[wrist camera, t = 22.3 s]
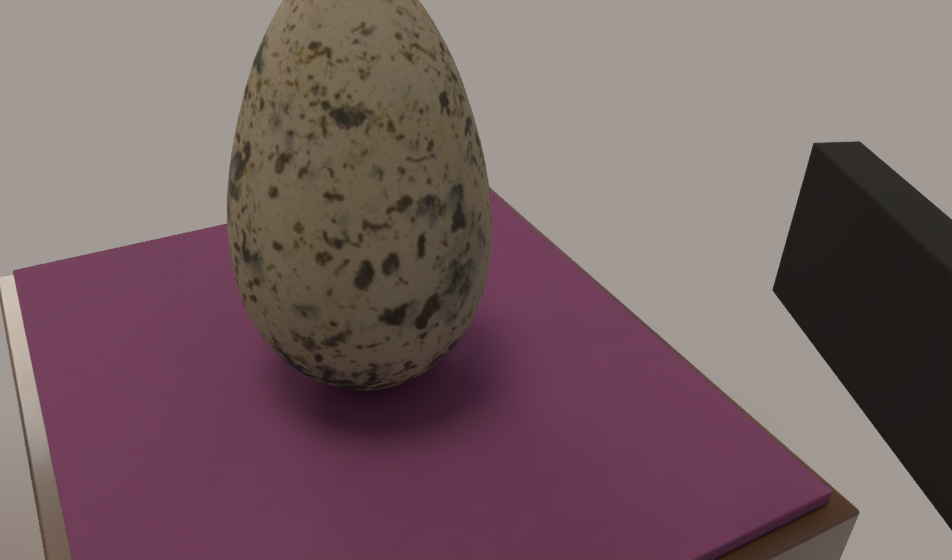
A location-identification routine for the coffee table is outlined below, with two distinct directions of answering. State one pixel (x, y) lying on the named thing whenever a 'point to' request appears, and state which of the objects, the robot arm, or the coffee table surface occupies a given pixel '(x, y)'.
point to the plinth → (769, 556)
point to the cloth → (386, 425)
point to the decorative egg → (358, 193)
